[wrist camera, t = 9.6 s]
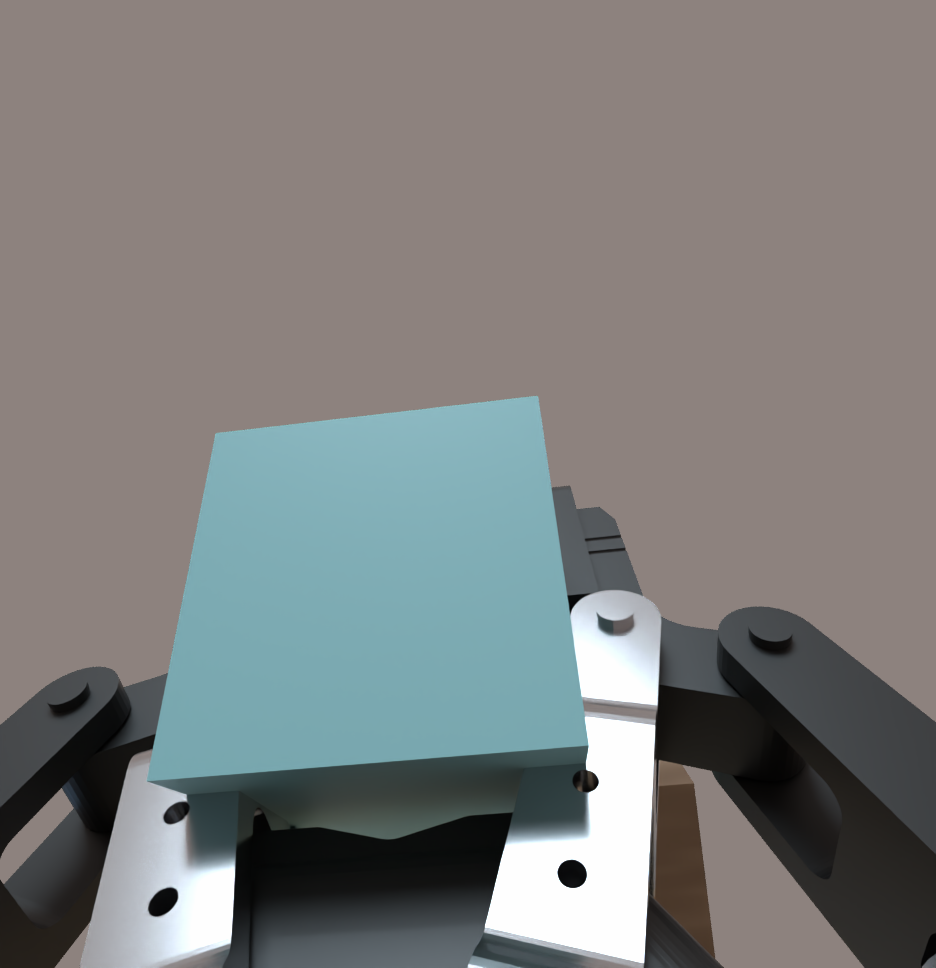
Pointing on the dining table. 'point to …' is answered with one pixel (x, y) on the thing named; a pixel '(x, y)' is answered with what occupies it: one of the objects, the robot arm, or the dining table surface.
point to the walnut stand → (681, 855)
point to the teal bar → (375, 622)
